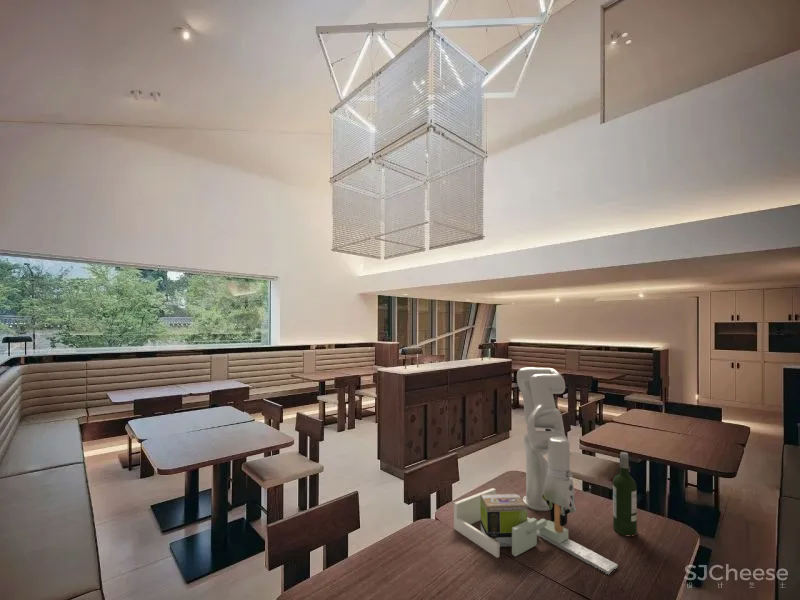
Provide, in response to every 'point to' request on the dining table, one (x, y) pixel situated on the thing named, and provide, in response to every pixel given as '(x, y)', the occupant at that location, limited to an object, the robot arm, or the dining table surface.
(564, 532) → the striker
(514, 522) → the tea box
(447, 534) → the dining table surface
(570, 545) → the rail
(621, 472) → the wine bottle
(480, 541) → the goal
